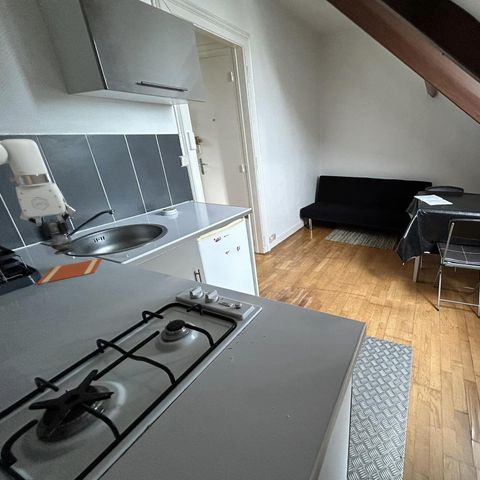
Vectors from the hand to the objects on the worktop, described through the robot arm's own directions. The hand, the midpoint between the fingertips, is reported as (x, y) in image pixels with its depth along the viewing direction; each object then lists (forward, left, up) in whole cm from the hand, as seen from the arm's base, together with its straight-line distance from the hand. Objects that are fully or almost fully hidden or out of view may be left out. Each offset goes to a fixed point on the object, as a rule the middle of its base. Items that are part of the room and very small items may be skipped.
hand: (57, 233), depth 90 cm
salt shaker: (0, 0, -7) cm, 7 cm away
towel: (0, 0, -14) cm, 14 cm away
